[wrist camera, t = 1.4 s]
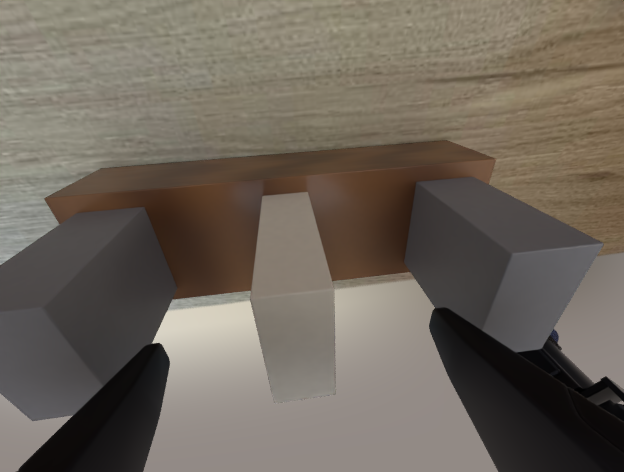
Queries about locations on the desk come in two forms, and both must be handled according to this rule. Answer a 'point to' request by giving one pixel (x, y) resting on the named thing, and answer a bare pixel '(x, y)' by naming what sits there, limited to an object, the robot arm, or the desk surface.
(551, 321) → the grey books
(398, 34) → the desk surface
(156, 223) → the shelf riser
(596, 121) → the desk surface
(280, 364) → the white book
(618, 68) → the desk surface
